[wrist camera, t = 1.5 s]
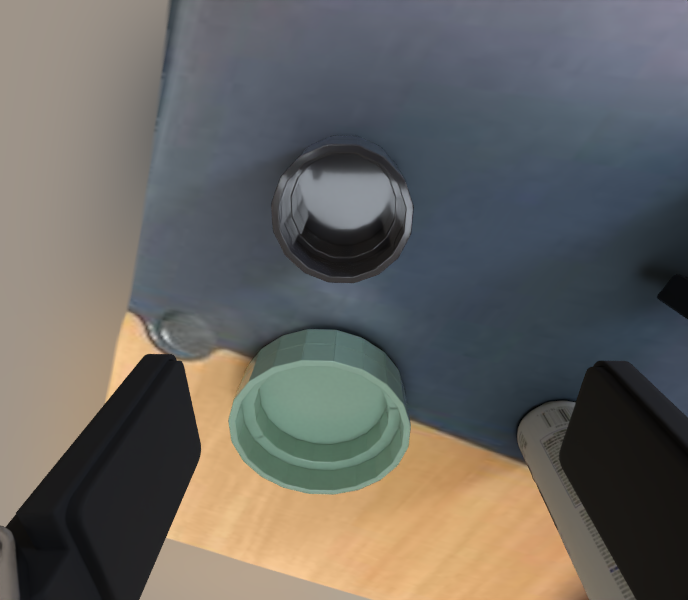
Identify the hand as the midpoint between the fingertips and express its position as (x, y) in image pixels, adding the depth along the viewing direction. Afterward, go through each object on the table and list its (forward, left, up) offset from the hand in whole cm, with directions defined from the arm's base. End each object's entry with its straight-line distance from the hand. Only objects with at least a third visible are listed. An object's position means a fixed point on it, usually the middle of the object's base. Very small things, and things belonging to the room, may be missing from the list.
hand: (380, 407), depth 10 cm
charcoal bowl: (-1, -1, -18) cm, 18 cm away
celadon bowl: (+15, -3, -18) cm, 24 cm away
